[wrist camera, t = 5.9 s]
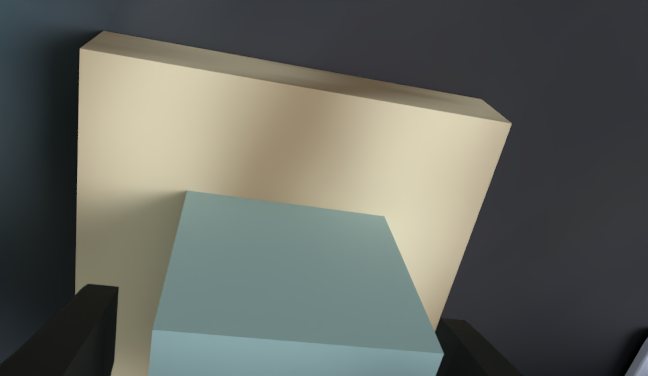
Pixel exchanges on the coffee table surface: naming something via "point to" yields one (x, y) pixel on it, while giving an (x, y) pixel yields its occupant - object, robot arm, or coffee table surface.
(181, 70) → the maple base
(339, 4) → the coffee table surface
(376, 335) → the teal cube
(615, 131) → the coffee table surface
